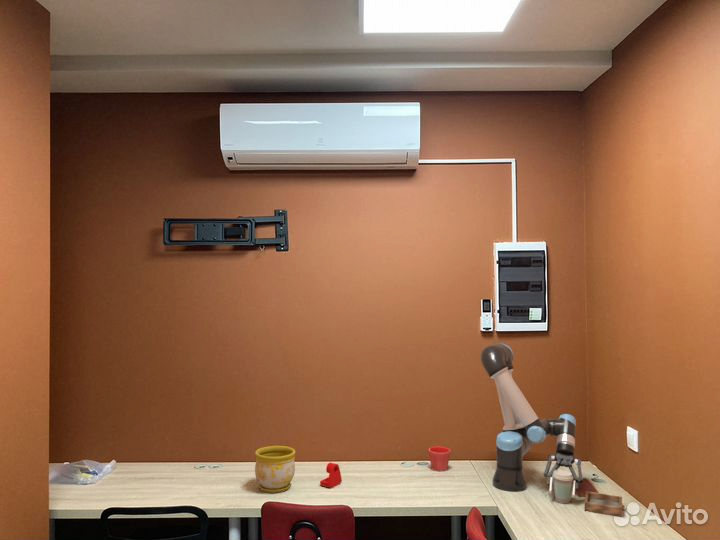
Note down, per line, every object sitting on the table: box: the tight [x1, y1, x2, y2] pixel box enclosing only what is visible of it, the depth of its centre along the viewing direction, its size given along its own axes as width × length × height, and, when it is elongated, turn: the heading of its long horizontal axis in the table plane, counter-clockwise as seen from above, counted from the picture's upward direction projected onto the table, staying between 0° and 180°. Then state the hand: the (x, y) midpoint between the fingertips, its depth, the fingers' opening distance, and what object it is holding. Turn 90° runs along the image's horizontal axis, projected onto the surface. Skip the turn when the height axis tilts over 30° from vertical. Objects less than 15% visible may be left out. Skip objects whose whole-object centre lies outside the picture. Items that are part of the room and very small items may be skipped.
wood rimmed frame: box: [583, 491, 623, 518], centre depth 229 cm, size 14×14×4 cm
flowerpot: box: [254, 445, 296, 494], centre depth 248 cm, size 18×18×16 cm
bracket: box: [319, 462, 343, 489], centre depth 253 cm, size 9×6×10 cm
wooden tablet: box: [572, 477, 600, 498], centre depth 252 cm, size 27×10×2 cm, turn 169°
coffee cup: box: [552, 469, 573, 504], centre depth 236 cm, size 8×8×12 cm
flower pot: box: [428, 446, 451, 472], centre depth 277 cm, size 11×11×10 cm
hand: (561, 494), depth 233 cm, fingers closed on coffee cup, 8 cm apart
